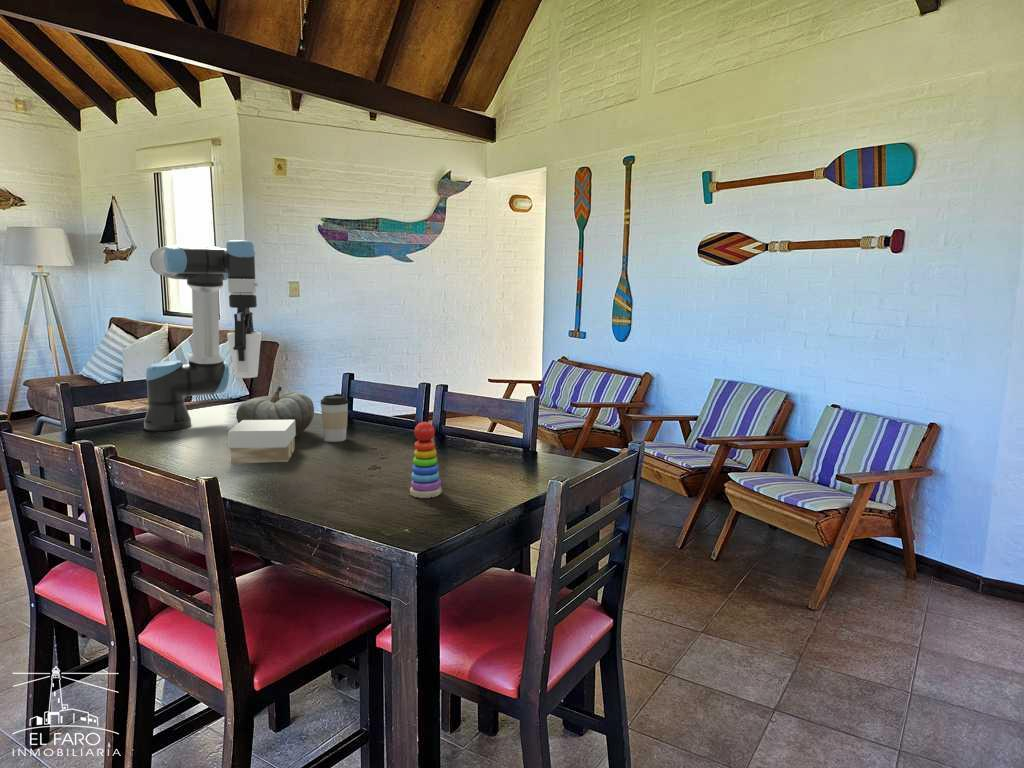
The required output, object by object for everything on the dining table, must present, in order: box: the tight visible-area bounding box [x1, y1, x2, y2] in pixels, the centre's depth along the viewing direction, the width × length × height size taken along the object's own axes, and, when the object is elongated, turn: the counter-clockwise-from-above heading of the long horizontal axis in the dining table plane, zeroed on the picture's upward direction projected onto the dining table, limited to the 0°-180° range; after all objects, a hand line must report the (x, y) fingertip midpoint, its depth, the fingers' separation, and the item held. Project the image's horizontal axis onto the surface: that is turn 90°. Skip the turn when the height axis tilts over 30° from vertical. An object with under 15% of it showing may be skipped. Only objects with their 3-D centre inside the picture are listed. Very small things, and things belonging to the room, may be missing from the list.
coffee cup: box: [319, 393, 349, 443], centre depth 230 cm, size 9×9×15 cm
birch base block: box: [229, 436, 296, 465], centre depth 209 cm, size 16×16×5 cm
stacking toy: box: [409, 421, 443, 499], centre depth 172 cm, size 8×8×19 cm
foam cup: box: [226, 331, 262, 379], centre depth 204 cm, size 10×9×13 cm
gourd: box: [235, 385, 315, 437], centre depth 234 cm, size 25×25×17 cm
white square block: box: [227, 420, 297, 449], centre depth 208 cm, size 16×16×5 cm
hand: (246, 369), depth 205 cm, fingers closed on foam cup, 9 cm apart
